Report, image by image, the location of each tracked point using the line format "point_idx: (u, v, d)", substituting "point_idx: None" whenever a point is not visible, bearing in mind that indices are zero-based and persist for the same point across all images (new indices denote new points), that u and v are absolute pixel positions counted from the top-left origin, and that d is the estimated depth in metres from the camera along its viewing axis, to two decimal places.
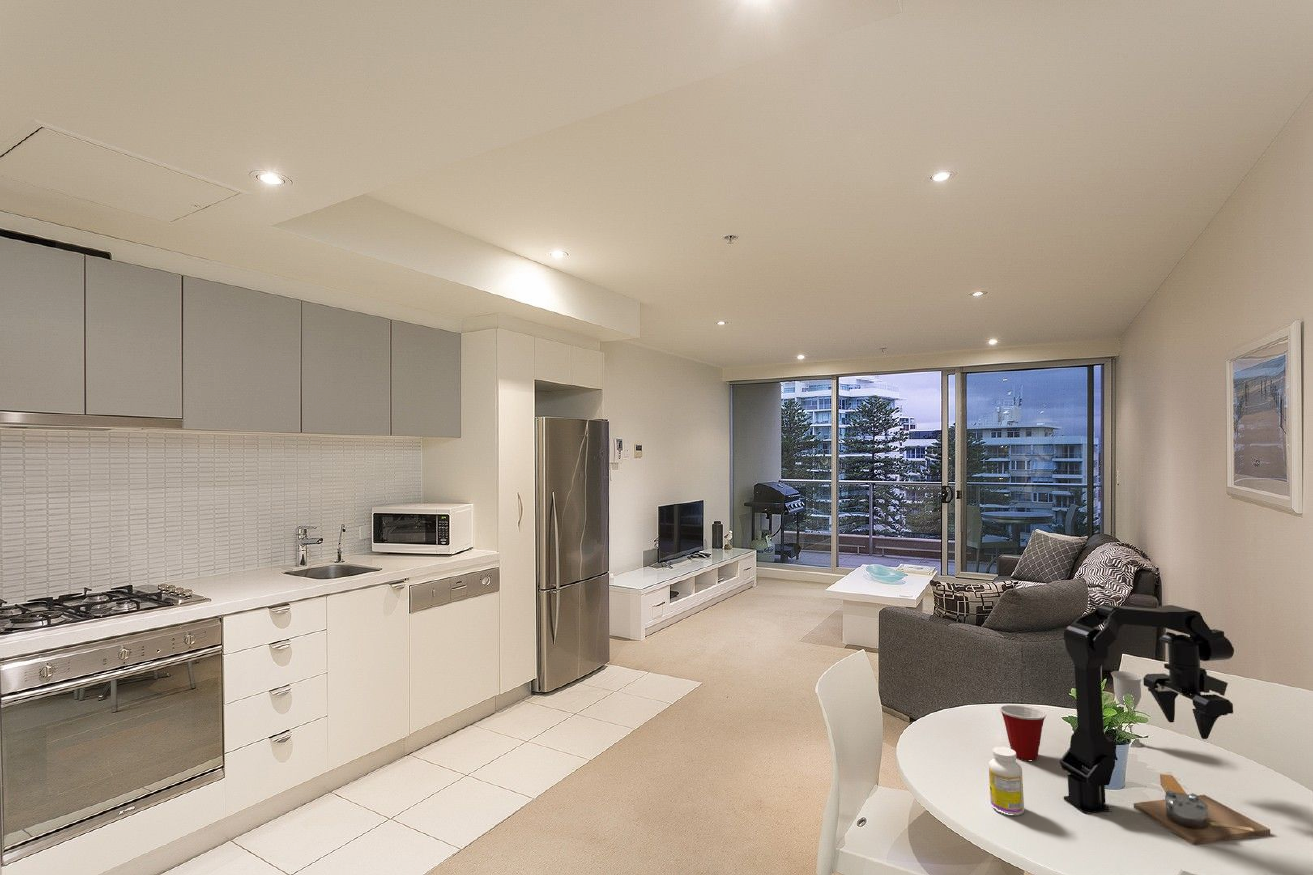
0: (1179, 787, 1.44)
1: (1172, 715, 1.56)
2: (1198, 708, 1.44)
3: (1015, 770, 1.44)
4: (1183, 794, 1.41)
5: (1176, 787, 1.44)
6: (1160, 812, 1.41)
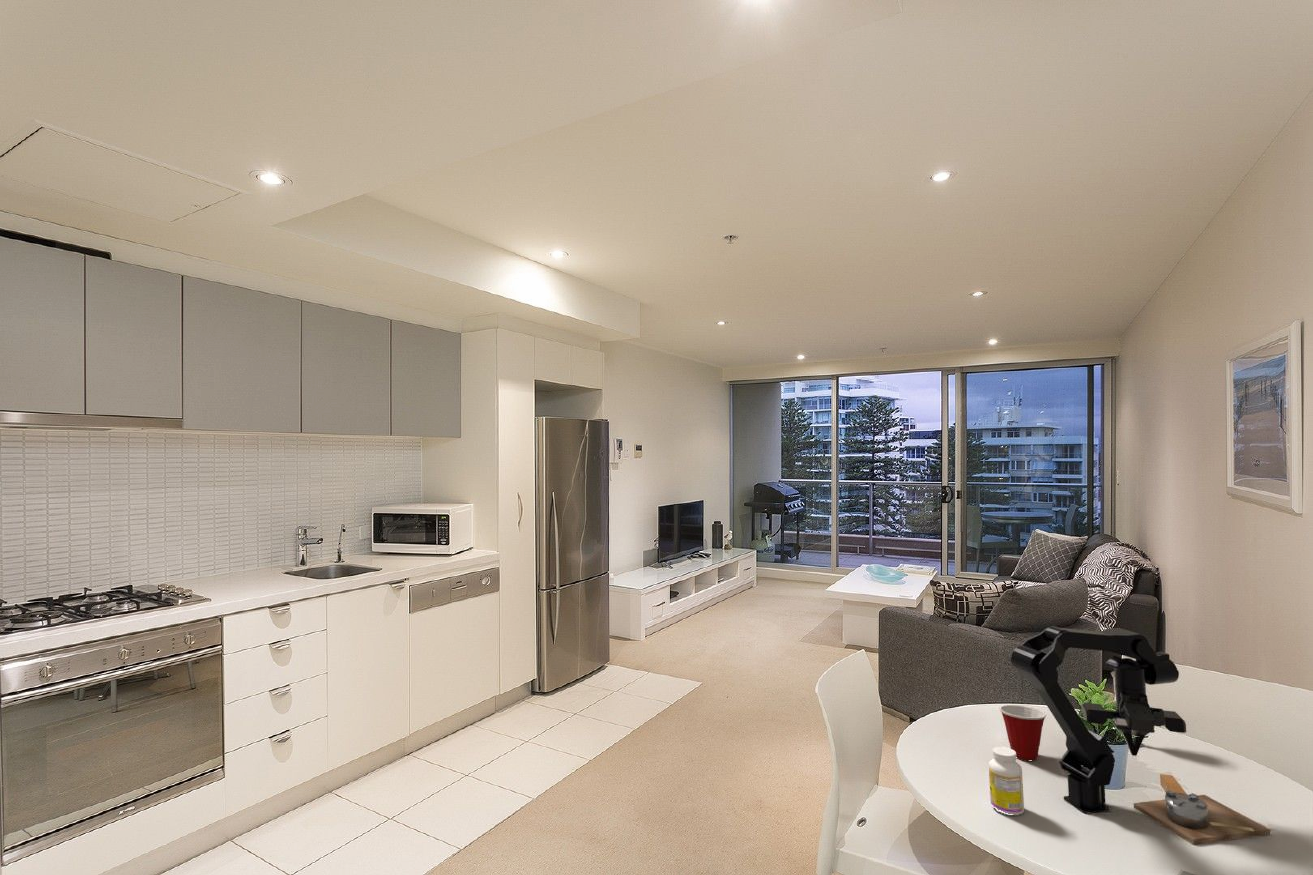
0: (1179, 787, 1.44)
1: None
2: None
3: (1015, 770, 1.44)
4: (1183, 794, 1.41)
5: (1176, 787, 1.44)
6: (1160, 812, 1.41)
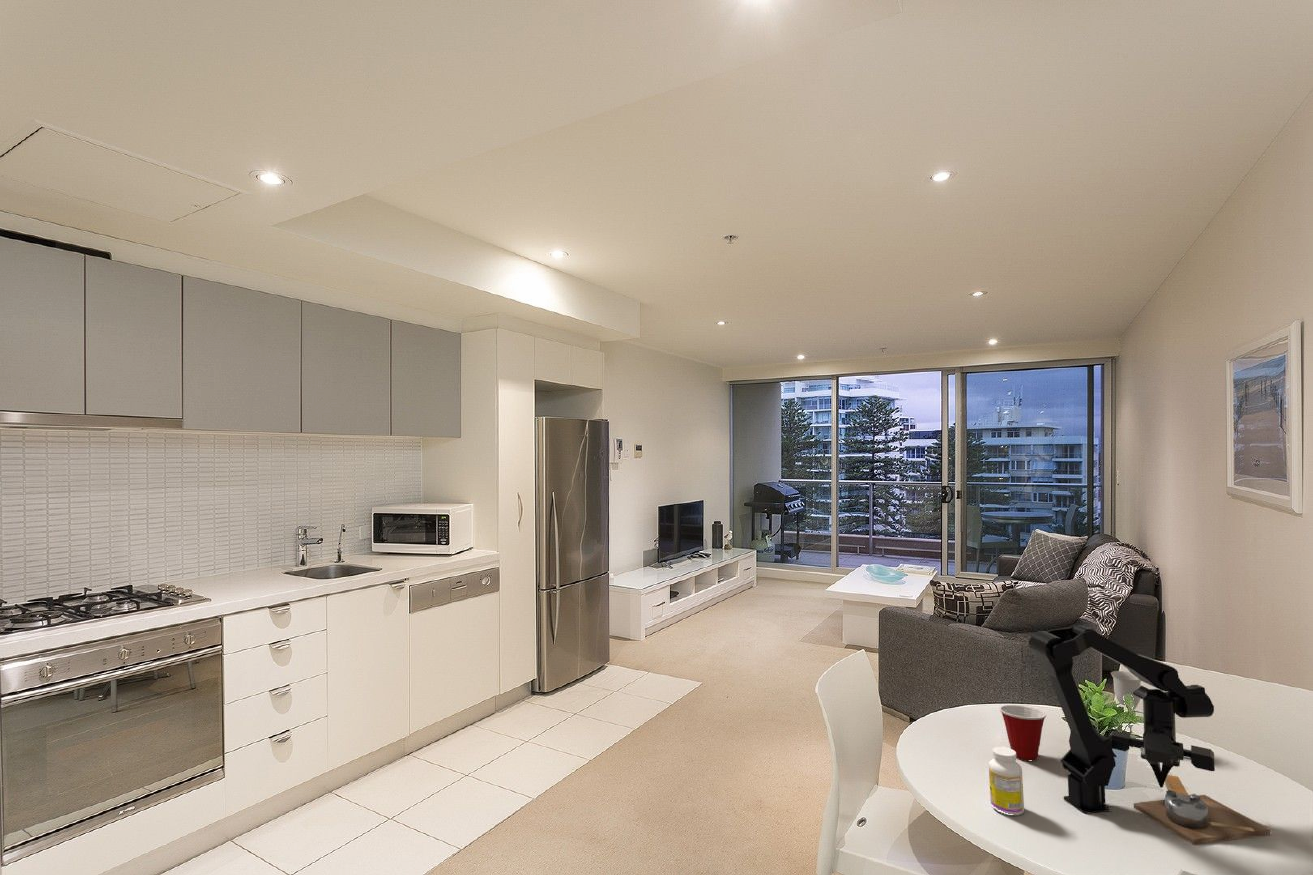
0: (1182, 788, 1.43)
1: None
2: None
3: (1015, 770, 1.44)
4: (1184, 794, 1.41)
5: (1179, 788, 1.43)
6: (1160, 812, 1.41)
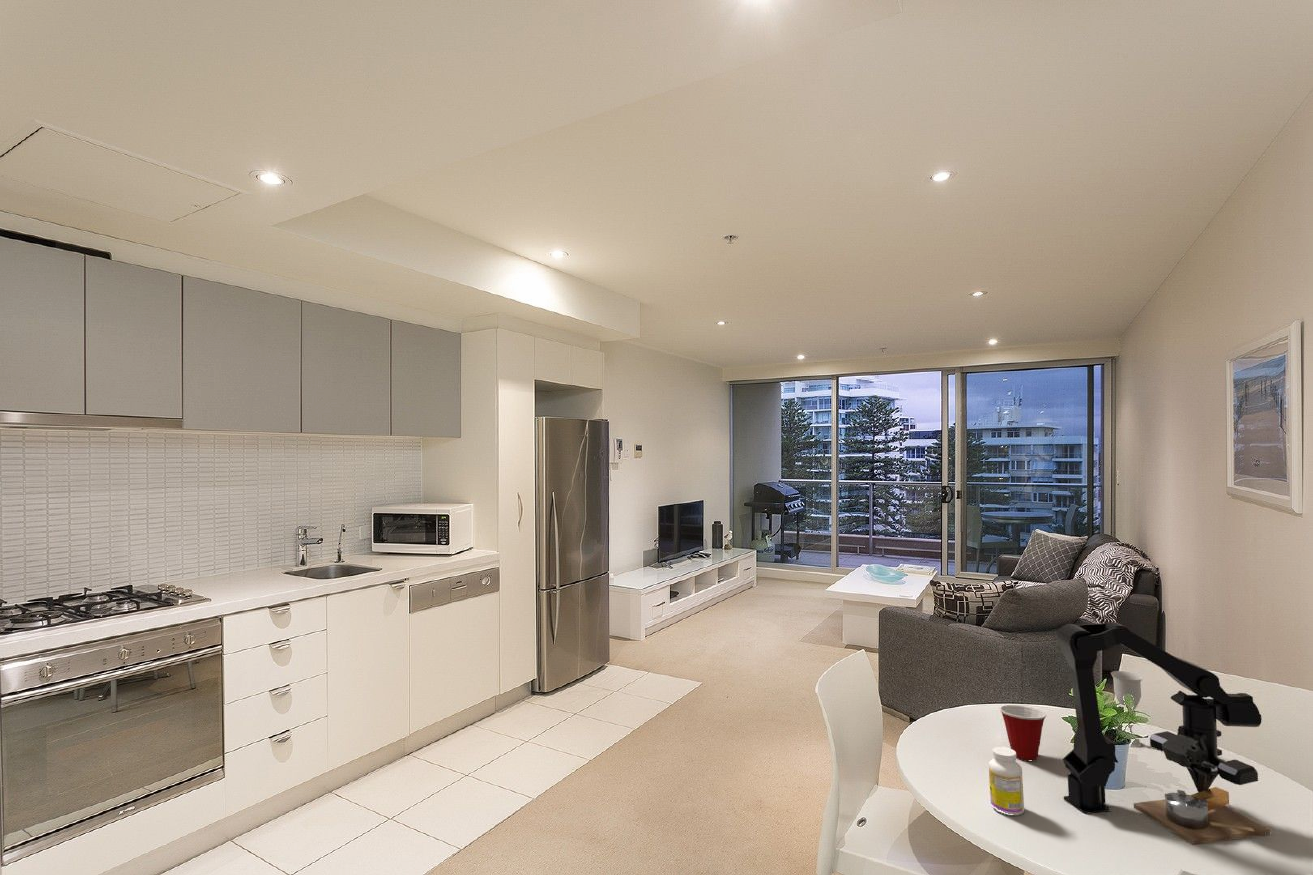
0: (1209, 796, 1.40)
1: None
2: None
3: (1015, 770, 1.44)
4: (1198, 799, 1.39)
5: (1205, 795, 1.40)
6: (1160, 812, 1.41)
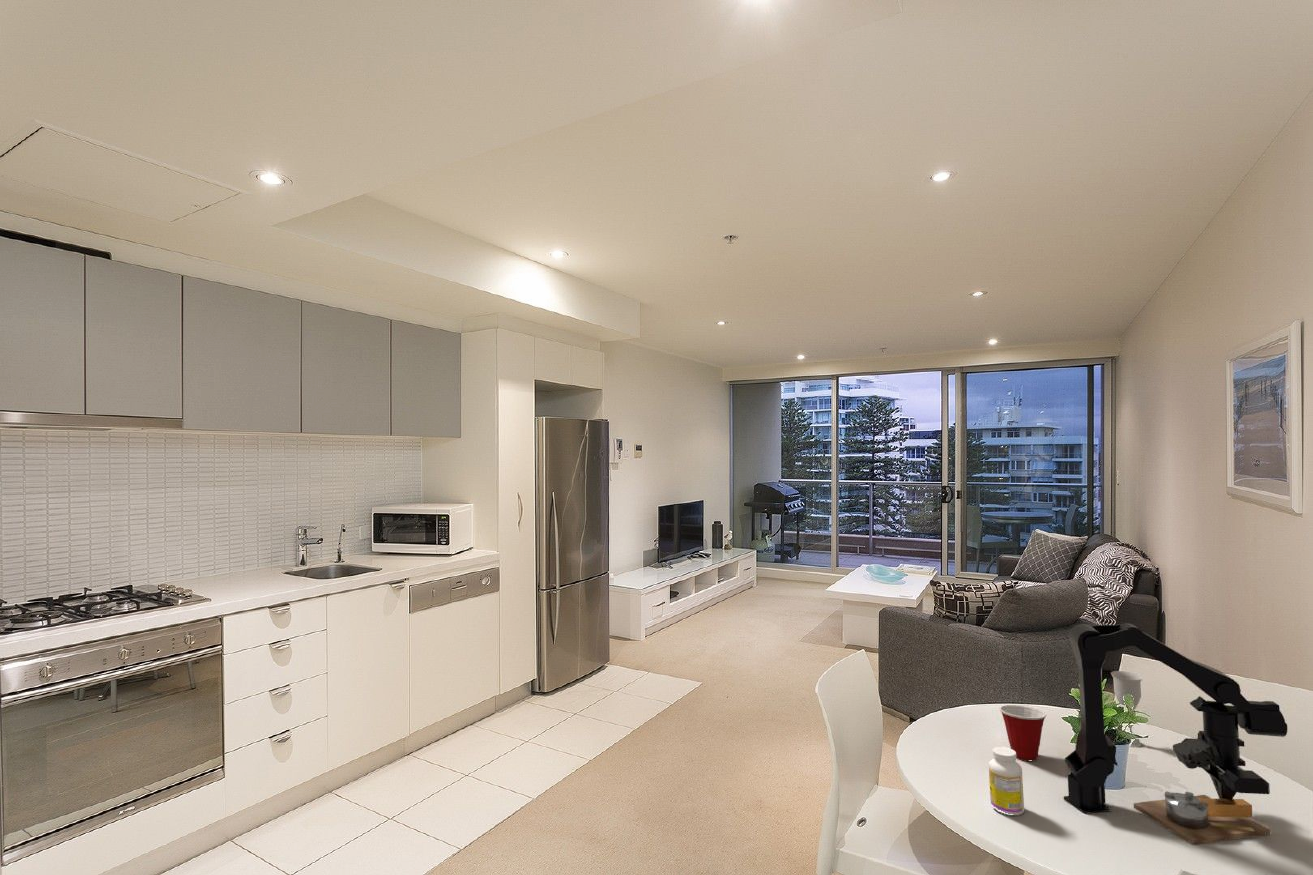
0: (1220, 803, 1.37)
1: None
2: None
3: (1015, 770, 1.44)
4: (1204, 802, 1.37)
5: (1216, 802, 1.37)
6: (1160, 812, 1.41)
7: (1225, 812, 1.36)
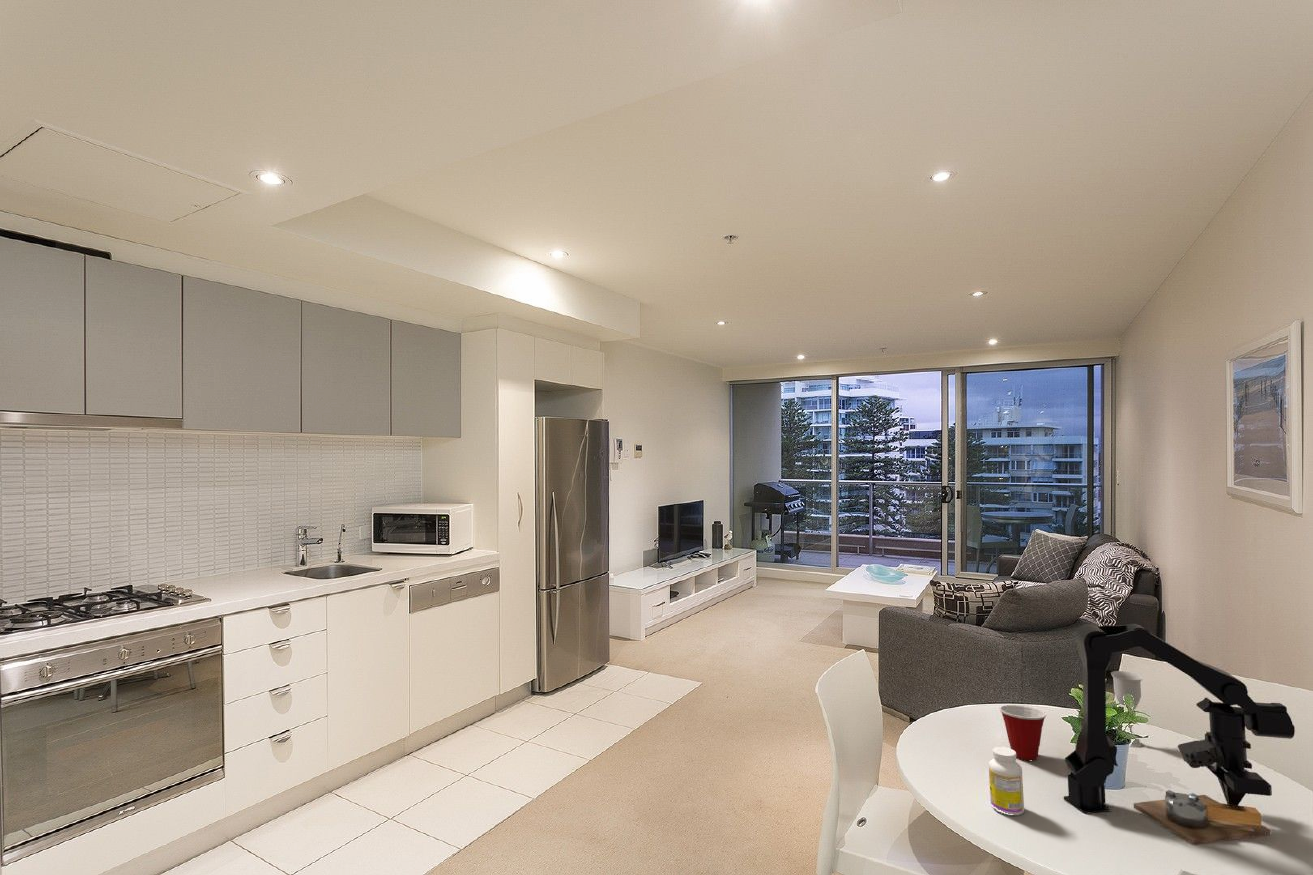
0: (1224, 807, 1.35)
1: None
2: None
3: (1015, 770, 1.44)
4: (1205, 805, 1.36)
5: (1221, 806, 1.36)
6: (1160, 812, 1.41)
7: (1229, 817, 1.35)
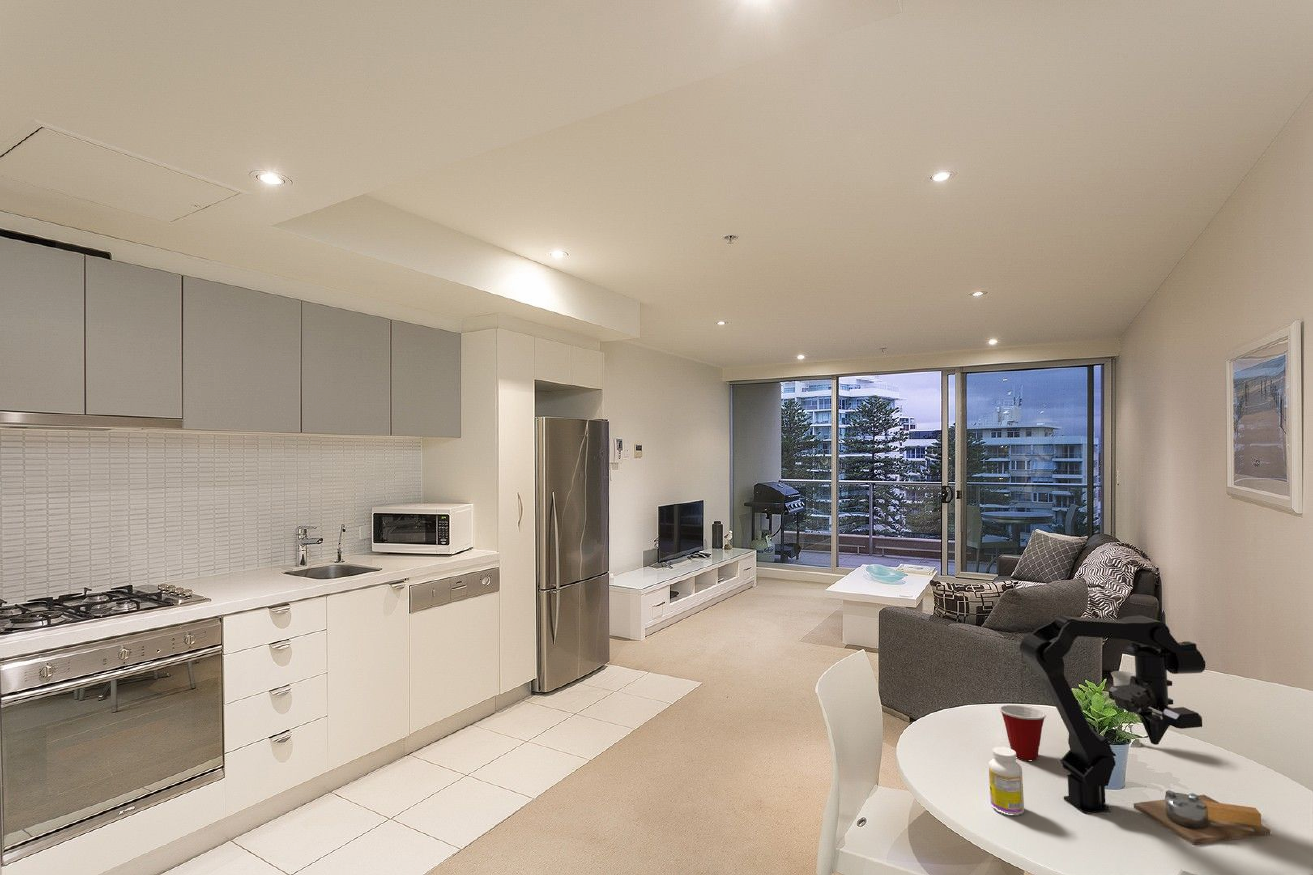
0: (1224, 807, 1.35)
1: None
2: None
3: (1015, 770, 1.44)
4: (1205, 805, 1.36)
5: (1221, 806, 1.36)
6: (1160, 812, 1.41)
7: (1229, 817, 1.35)
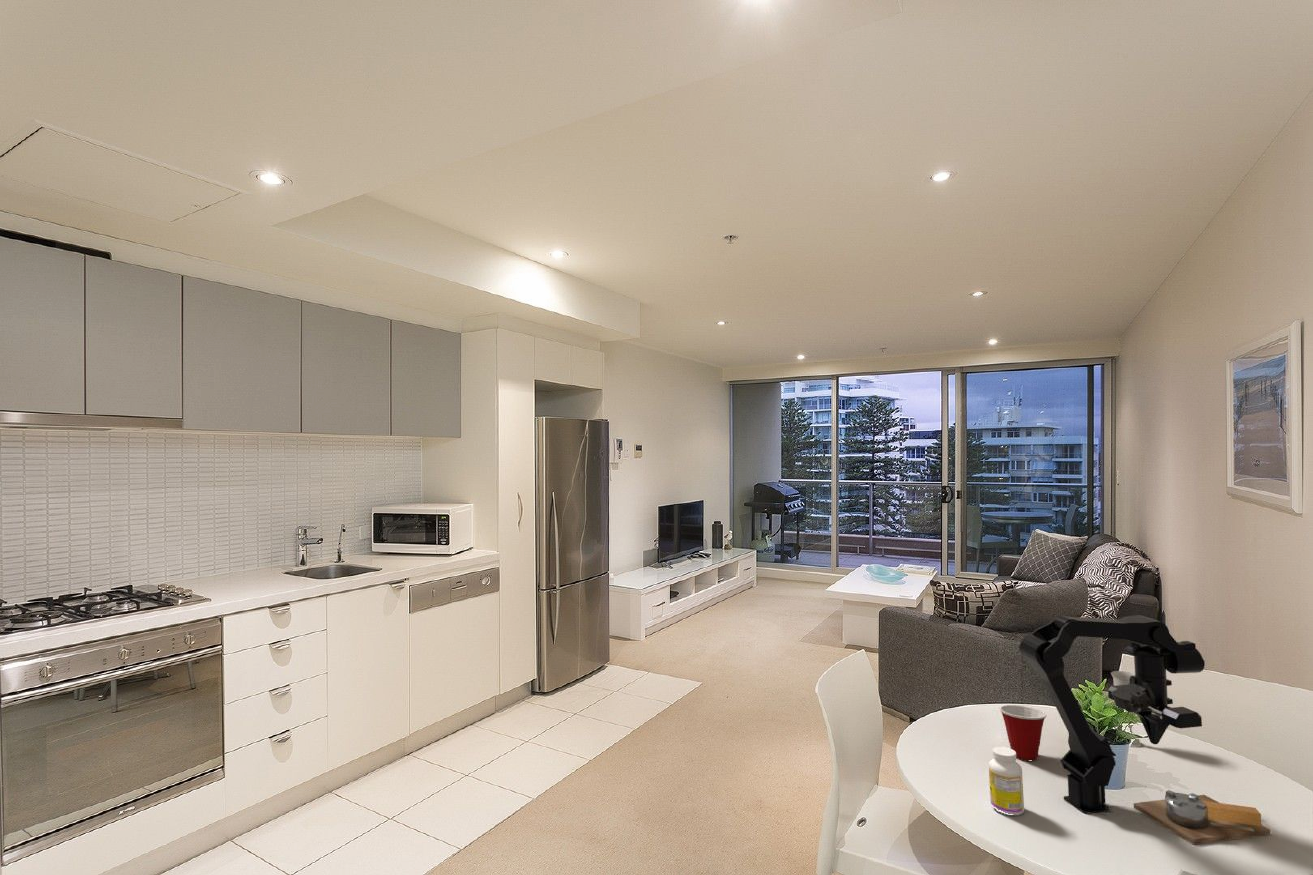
0: (1224, 807, 1.35)
1: None
2: None
3: (1015, 770, 1.44)
4: (1205, 805, 1.36)
5: (1221, 806, 1.36)
6: (1160, 812, 1.41)
7: (1229, 817, 1.35)
